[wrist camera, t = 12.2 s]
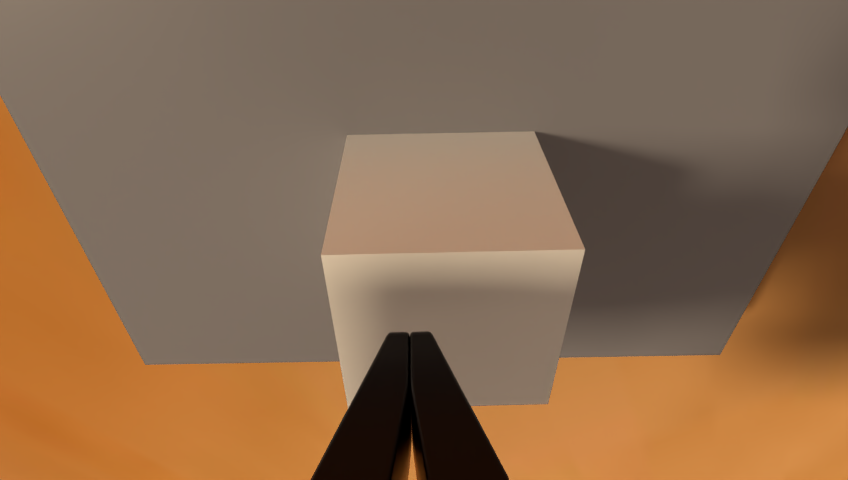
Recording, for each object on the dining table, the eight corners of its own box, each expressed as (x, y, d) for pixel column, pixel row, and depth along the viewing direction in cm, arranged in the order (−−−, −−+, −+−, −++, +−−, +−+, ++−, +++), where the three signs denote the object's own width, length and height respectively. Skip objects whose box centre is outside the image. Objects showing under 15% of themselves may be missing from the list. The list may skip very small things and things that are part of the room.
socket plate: (858, -83, 13) (955, -67, 11) (686, 299, 22) (719, 354, 19) (6, -80, 13) (-85, -63, 10) (174, 307, 21) (145, 364, 19)
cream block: (516, 91, 16) (584, 249, 10) (502, 221, 19) (548, 403, 13) (355, 94, 16) (321, 254, 10) (368, 224, 19) (348, 408, 13)
